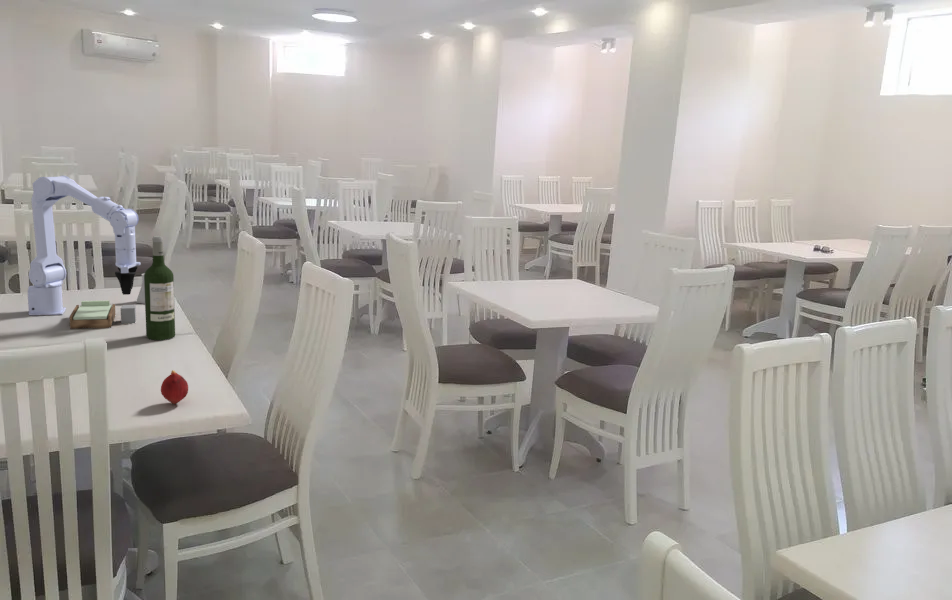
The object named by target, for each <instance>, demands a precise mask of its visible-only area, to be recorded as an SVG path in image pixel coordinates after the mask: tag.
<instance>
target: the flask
mask: <svg viewBox="0 0 952 600" xmlns="http://www.w3.org/2000/svg"><path fill="white" fill-rule="evenodd" d="M144 274H145V272H144V273H141V279H142V280H141V286H140V289H139V292H138V296H137V299H136V303H137V304H144V305H145V288H144Z"/></svg>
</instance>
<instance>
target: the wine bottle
mask: <svg viewBox="0 0 952 600" xmlns="http://www.w3.org/2000/svg"><path fill="white" fill-rule="evenodd" d="M163 242H164V238H163V236H160V235H155V236H152V264H151V265H150V266H149V267H148V268H147V269H146V271H145V272H144V273H145V274H144V273H143V274H144V288H145V304H144V307H145V308H144V309H145V313H144V314H145V333H146V334H145V335H146V339H147V340H150V339H151V340H150V341H166V340H165V339H168V340H171V339H170V338H172V339H173V337H174V338H175V336H176V317H175V314H176V313H175V311H176V310H175V283H174V280H175V279H174V272H173V271H172V270H171V269H170V267H168V266H167V265H166V263H165V256H164V244H163Z"/></svg>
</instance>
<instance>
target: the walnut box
mask: <svg viewBox="0 0 952 600" xmlns="http://www.w3.org/2000/svg"><path fill="white" fill-rule="evenodd" d="M111 305H112V308H111V310H110V312H109V315H108V317H107V319H84V320H73V317H74V315H75V313H76V312H77V310H78V308H79V307H80V305H79V304H77V305H76V306H74V309H73V310H72V311H71V314H70V315H69V329H70V330H76V329H77V330H80V329H82V330H83V329H106V328H107V329H108V328H109V327H110V328H109V329H111V328H112V326H113V324H112V323H114V321H115V318H116V316H115V315H116V303H113V304H111Z"/></svg>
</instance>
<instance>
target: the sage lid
mask: <svg viewBox="0 0 952 600" xmlns="http://www.w3.org/2000/svg"><path fill="white" fill-rule="evenodd" d="M80 303H81V305H79V308H78V310H77V312H76V313H75V315H74V317H73V320H84V319H107V317H108V315H109V312H110V310H111V308H112V305H113V304H111V300H107V299H106V300H81V301H80Z"/></svg>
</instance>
